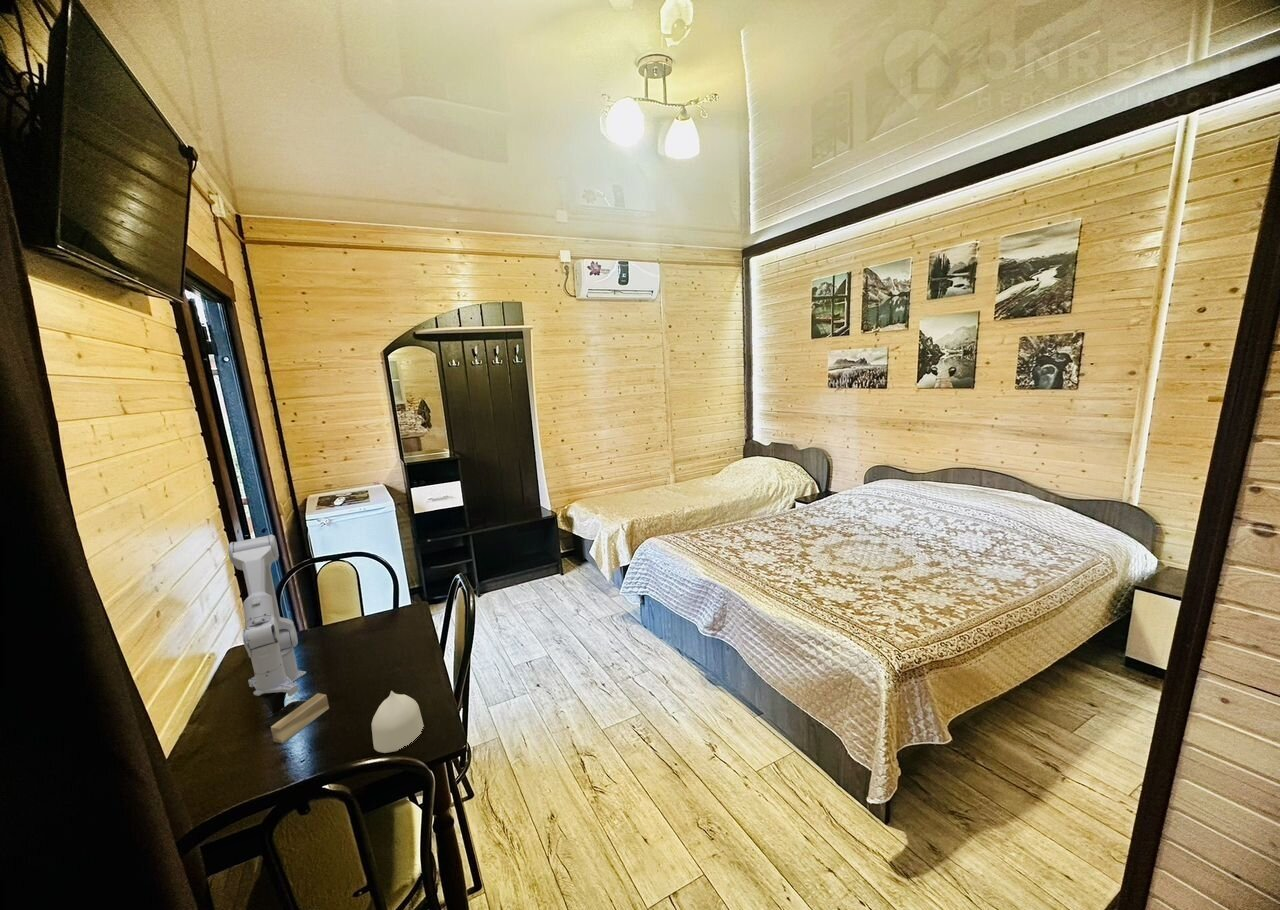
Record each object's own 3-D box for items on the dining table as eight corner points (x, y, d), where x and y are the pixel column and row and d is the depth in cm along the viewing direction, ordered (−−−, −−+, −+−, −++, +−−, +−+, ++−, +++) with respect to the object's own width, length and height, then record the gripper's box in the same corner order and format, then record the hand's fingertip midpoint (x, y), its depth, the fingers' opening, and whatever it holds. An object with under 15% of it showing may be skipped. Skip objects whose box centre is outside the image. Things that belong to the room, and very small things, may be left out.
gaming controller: (281, 733, 111) (265, 715, 112) (273, 744, 113) (258, 726, 114) (319, 705, 120) (304, 689, 121) (311, 715, 122) (296, 699, 123)
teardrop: (376, 726, 113) (368, 683, 111) (425, 711, 117) (418, 670, 115) (369, 759, 103) (360, 713, 101) (422, 742, 107) (415, 697, 105)
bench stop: (273, 741, 110) (270, 727, 109) (320, 706, 121) (317, 693, 121) (282, 743, 109) (279, 729, 108) (329, 708, 120) (326, 694, 120)
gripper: (231, 672, 114) (242, 719, 116) (273, 682, 109) (284, 730, 112) (261, 655, 120) (271, 700, 123) (301, 663, 116) (311, 709, 119)
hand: (279, 713), depth 118 cm, fingers closed, pressing on gaming controller
